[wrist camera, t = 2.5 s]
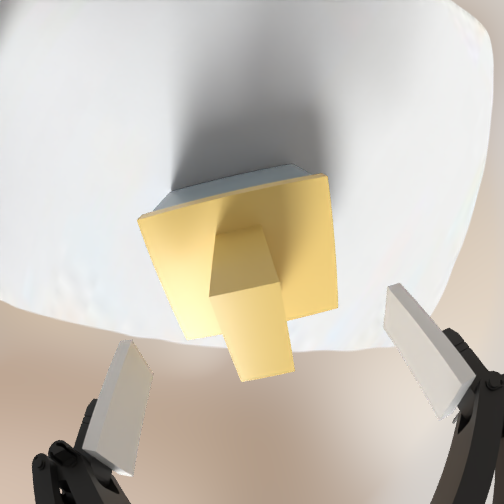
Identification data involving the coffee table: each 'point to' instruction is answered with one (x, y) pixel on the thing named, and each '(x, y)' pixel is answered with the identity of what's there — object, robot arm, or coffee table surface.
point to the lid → (248, 266)
